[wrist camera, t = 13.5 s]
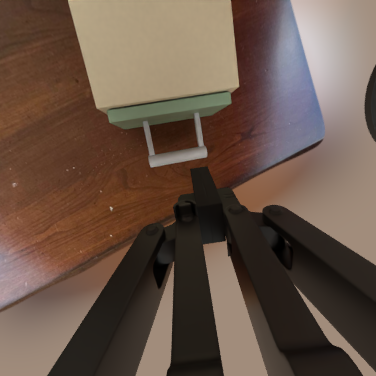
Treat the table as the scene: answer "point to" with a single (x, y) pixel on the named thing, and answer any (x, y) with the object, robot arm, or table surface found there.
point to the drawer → (170, 113)
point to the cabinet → (155, 49)
